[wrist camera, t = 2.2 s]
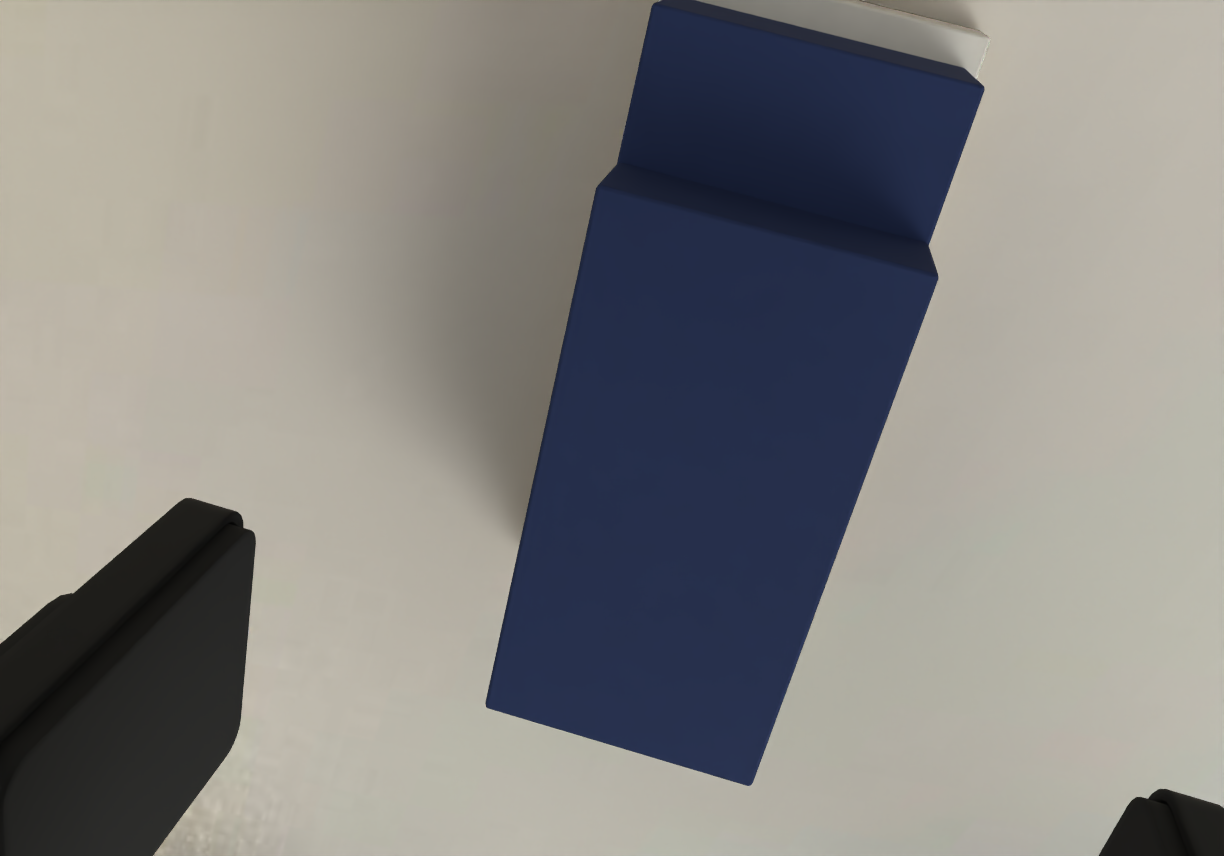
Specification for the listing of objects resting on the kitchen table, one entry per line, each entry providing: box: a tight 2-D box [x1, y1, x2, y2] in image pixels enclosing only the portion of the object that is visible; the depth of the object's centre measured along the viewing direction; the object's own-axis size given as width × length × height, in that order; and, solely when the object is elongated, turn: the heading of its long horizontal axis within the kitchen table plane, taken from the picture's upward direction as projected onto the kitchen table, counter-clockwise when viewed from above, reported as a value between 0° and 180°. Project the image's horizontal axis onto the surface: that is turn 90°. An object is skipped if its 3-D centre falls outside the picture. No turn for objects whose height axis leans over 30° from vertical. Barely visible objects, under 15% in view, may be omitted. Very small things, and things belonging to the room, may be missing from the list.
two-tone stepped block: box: [486, 0, 990, 786], centre depth 18 cm, size 5×12×5 cm, turn 167°
